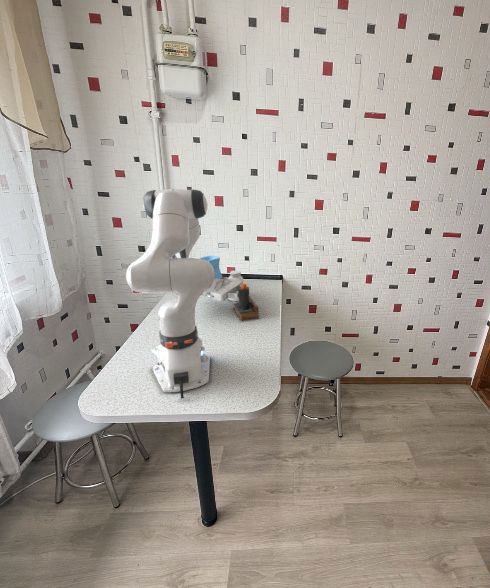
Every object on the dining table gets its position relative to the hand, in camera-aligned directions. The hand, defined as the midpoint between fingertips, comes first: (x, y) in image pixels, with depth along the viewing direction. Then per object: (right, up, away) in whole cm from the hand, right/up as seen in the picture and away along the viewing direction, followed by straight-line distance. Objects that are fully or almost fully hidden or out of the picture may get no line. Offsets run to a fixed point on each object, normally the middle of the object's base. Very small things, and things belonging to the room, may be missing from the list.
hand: (242, 292), depth 155 cm
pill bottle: (-8, -3, +21) cm, 23 cm away
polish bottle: (0, -7, +3) cm, 8 cm away
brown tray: (+1, -10, +4) cm, 11 cm away
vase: (-23, 0, +26) cm, 35 cm away
